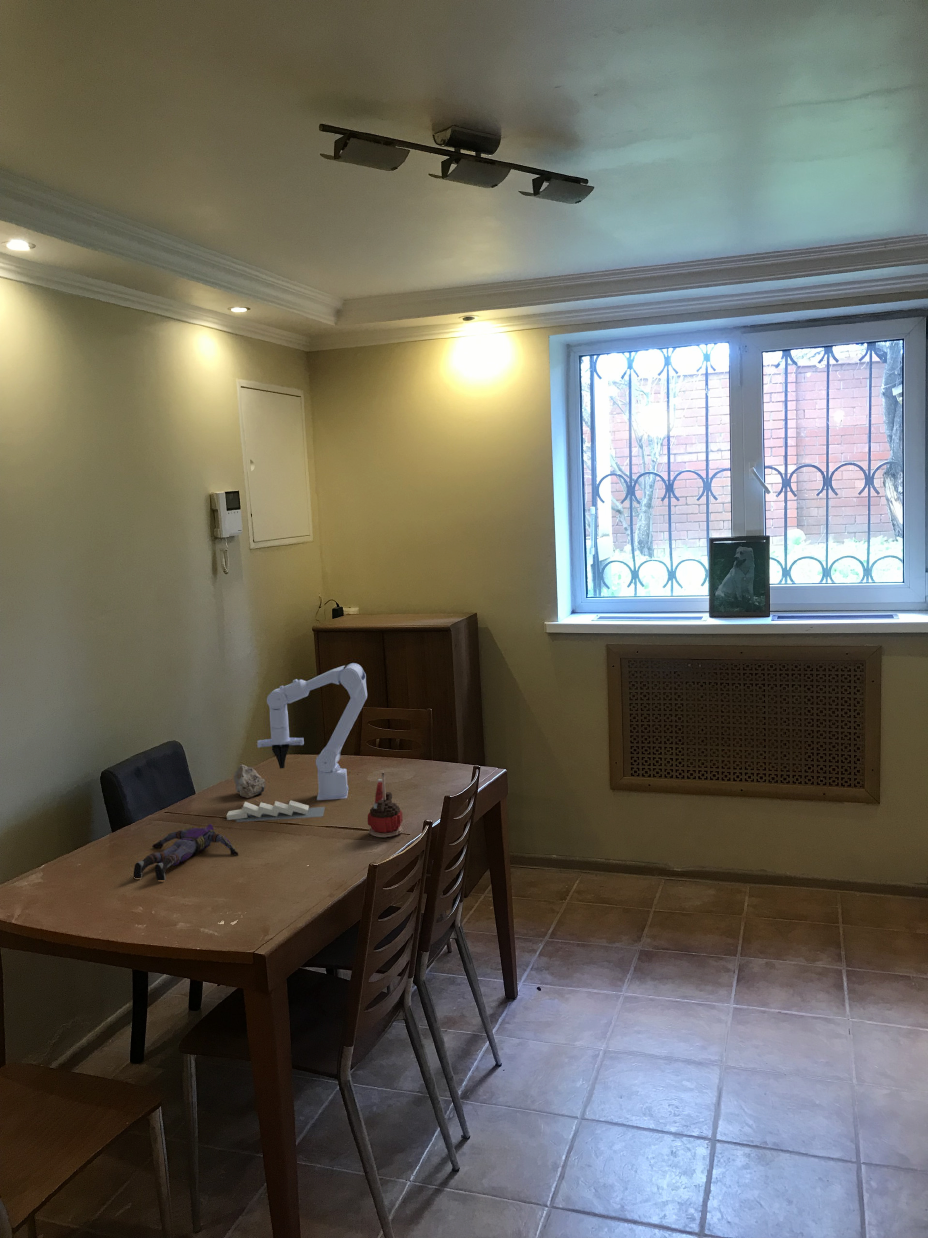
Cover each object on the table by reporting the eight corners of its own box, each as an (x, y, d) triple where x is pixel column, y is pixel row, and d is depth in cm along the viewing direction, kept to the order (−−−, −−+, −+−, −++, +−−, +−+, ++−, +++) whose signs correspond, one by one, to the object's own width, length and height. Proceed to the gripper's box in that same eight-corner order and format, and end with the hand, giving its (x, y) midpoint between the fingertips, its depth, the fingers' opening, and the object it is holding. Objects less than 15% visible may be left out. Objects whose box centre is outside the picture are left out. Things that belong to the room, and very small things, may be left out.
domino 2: (263, 808, 295) (245, 801, 294) (262, 813, 291) (243, 805, 290) (261, 813, 295) (243, 806, 294) (260, 817, 291) (241, 810, 290)
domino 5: (309, 805, 296) (290, 800, 295) (307, 810, 292) (288, 804, 291) (307, 810, 296) (288, 805, 295) (306, 814, 292) (287, 809, 292)
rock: (245, 809, 309) (264, 785, 309) (218, 786, 311) (237, 762, 310) (255, 803, 319) (273, 780, 318) (229, 781, 320) (247, 758, 319)
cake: (396, 840, 268) (393, 778, 266) (364, 839, 270) (361, 777, 268) (406, 827, 278) (403, 767, 276) (375, 826, 280) (372, 766, 278)
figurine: (195, 890, 242) (255, 844, 270) (193, 867, 241) (254, 823, 269) (104, 881, 250) (172, 837, 278) (102, 858, 249) (170, 817, 278)
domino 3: (279, 807, 295) (260, 802, 295) (278, 811, 291) (259, 806, 291) (278, 812, 295) (259, 807, 295) (276, 816, 292) (257, 811, 291)
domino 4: (294, 806, 296) (275, 801, 295) (293, 810, 292) (274, 805, 291) (292, 811, 296) (274, 805, 295) (291, 815, 292) (272, 810, 291)
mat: (324, 808, 299) (324, 807, 299) (323, 817, 290) (322, 816, 290) (240, 813, 297) (240, 812, 297) (235, 822, 288) (235, 822, 288)
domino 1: (248, 808, 295) (228, 811, 294) (246, 812, 291) (226, 815, 290) (249, 813, 295) (229, 816, 294) (247, 817, 291) (227, 820, 290)
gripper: (303, 722, 313) (305, 762, 315) (258, 724, 312) (261, 765, 314) (301, 727, 306) (304, 768, 308) (255, 730, 305) (258, 771, 307)
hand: (282, 767), depth 310 cm, fingers closed
